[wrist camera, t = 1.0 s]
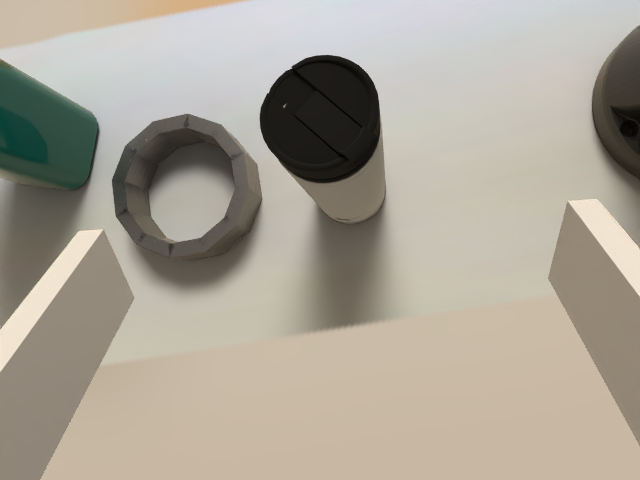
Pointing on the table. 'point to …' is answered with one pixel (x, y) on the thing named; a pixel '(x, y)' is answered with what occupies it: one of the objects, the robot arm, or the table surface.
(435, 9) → the table surface
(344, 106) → the travel mug
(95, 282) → the robot arm
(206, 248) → the ring collar
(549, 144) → the table surface
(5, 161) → the green bottle
